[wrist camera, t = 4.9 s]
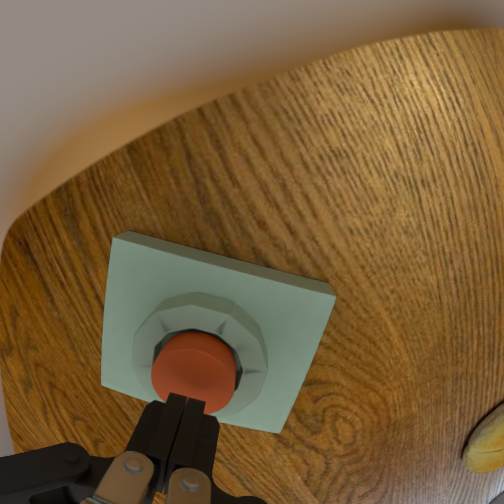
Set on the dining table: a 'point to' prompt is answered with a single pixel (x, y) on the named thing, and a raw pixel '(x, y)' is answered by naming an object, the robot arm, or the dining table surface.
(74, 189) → the dining table surface
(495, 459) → the bread roll
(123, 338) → the control block
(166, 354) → the power button
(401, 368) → the dining table surface
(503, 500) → the saucepan
